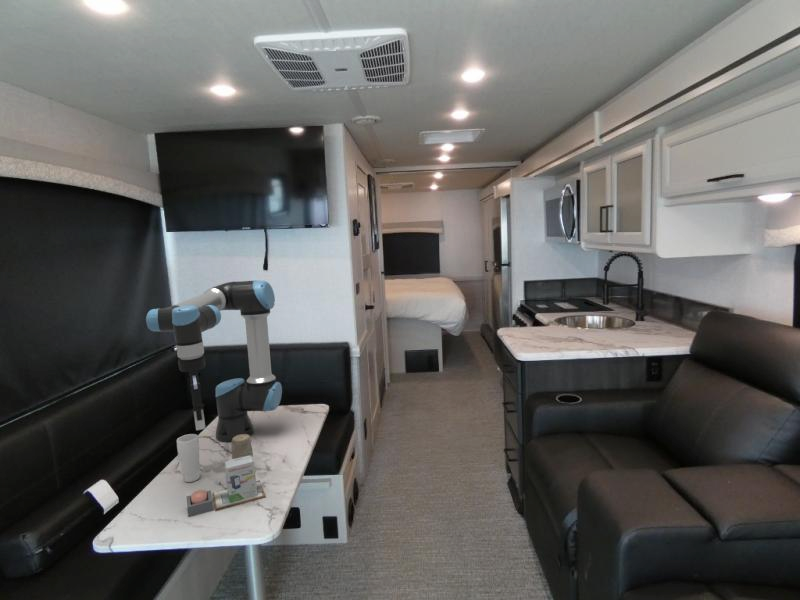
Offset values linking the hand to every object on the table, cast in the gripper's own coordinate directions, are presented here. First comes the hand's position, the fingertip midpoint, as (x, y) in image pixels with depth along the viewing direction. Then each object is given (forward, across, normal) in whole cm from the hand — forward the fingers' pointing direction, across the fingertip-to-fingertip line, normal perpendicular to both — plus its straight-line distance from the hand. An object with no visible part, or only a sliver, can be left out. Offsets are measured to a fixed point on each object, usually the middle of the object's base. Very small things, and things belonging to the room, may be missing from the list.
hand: (200, 428), depth 148 cm
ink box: (+22, +8, +9) cm, 25 cm away
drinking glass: (+23, -14, -5) cm, 28 cm away
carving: (+24, -12, +12) cm, 29 cm away
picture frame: (+23, +6, +8) cm, 25 cm away
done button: (+22, +7, -3) cm, 23 cm away
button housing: (+23, +7, -3) cm, 24 cm away
